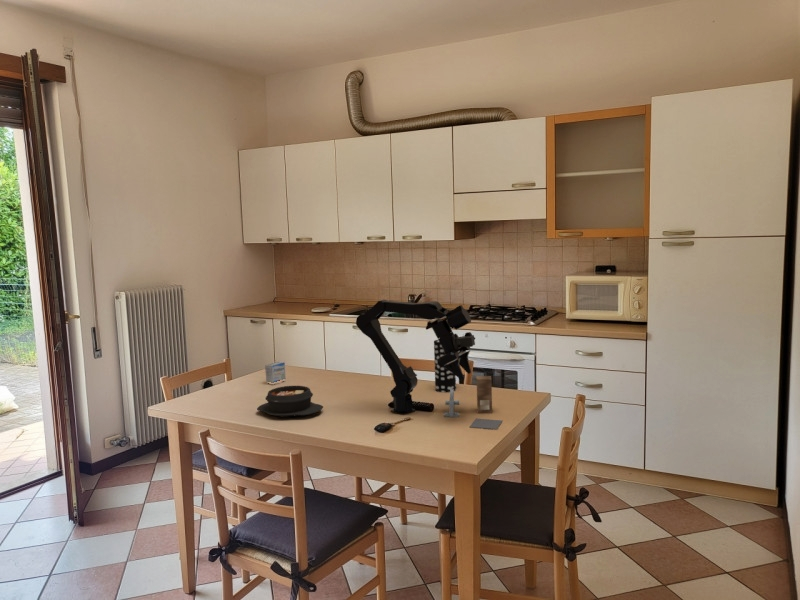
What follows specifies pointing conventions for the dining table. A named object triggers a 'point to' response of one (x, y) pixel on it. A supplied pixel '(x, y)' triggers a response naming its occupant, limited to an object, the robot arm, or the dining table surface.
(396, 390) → the robot arm
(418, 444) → the dining table surface
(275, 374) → the medicine box
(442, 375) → the spotted tube
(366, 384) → the dining table surface
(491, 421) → the mat
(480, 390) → the walnut block
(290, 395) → the casserole
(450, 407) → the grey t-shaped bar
